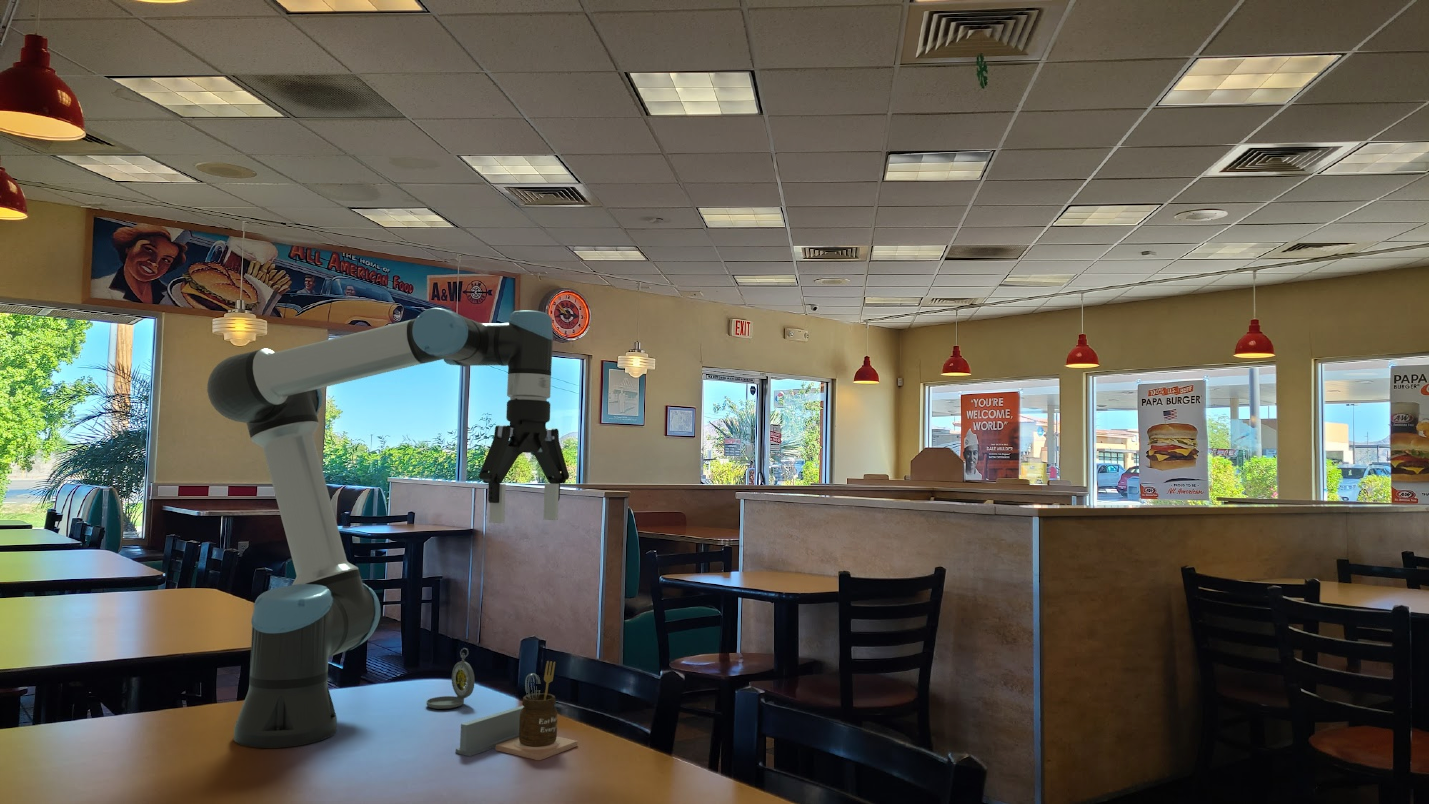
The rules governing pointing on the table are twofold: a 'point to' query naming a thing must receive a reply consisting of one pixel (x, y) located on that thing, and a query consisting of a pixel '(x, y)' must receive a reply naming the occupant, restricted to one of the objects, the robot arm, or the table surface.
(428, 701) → the pocket watch
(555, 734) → the utensil holder
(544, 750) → the coaster
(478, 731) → the low wall
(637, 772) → the table surface
